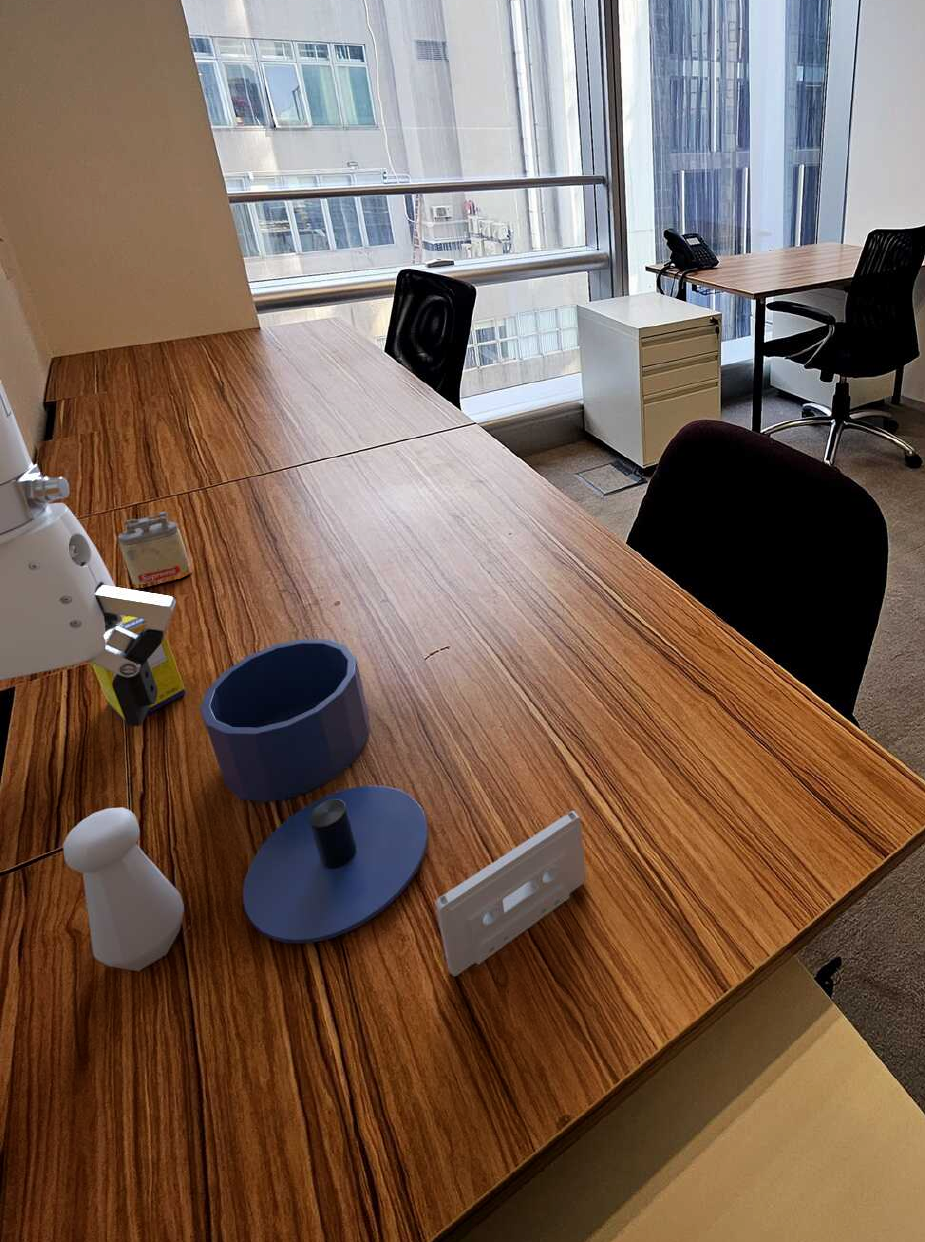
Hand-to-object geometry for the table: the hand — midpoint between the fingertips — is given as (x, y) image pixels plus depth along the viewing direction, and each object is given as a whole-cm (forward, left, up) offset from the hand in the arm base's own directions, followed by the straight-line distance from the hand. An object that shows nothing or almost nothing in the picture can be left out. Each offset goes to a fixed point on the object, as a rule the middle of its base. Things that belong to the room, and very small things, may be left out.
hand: (58, 731), depth 50 cm
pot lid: (+14, +2, -21) cm, 25 cm away
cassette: (+28, -9, -22) cm, 36 cm away
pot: (+9, +18, -22) cm, 30 cm away
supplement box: (-8, +32, -22) cm, 40 cm away
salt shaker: (0, 0, -22) cm, 22 cm away
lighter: (-13, +60, -22) cm, 65 cm away
